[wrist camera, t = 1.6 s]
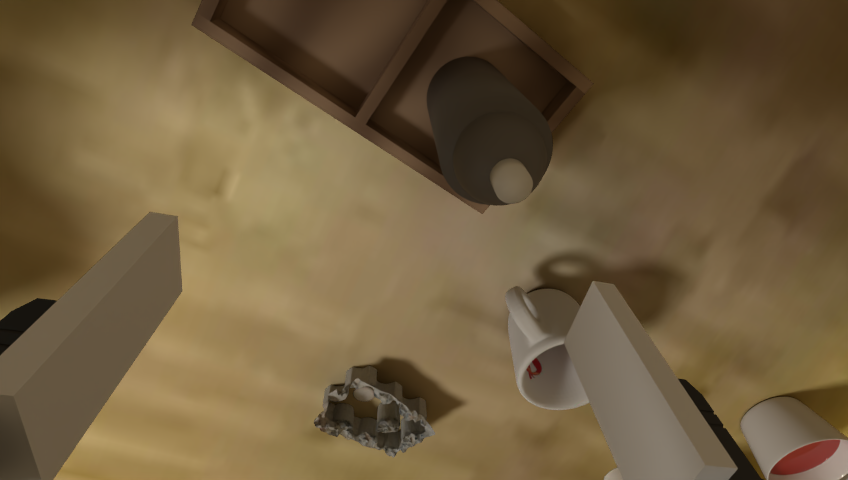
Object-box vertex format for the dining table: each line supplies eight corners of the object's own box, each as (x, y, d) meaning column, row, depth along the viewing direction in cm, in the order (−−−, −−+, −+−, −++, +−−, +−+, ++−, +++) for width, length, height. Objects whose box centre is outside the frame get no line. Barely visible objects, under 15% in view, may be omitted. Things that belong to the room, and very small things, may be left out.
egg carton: (314, 391, 47) (307, 425, 44) (365, 352, 45) (362, 385, 41) (387, 439, 52) (386, 473, 48) (438, 405, 49) (441, 439, 46)
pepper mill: (410, 109, 32) (420, 202, 19) (459, 38, 30) (507, 90, 17) (472, 152, 34) (519, 264, 21) (523, 88, 32) (608, 170, 19)
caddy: (205, 20, 30) (191, 24, 27) (291, -172, 25) (282, -185, 23) (477, 200, 37) (482, 214, 35) (581, 76, 32) (593, 83, 30)
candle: (720, 410, 52) (759, 462, 46) (804, 376, 50) (854, 426, 44) (739, 451, 56) (776, 503, 50) (817, 421, 54) (865, 472, 48)
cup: (463, 289, 41) (477, 353, 34) (539, 239, 39) (570, 297, 32) (527, 356, 46) (550, 424, 39) (598, 315, 44) (636, 380, 37)
